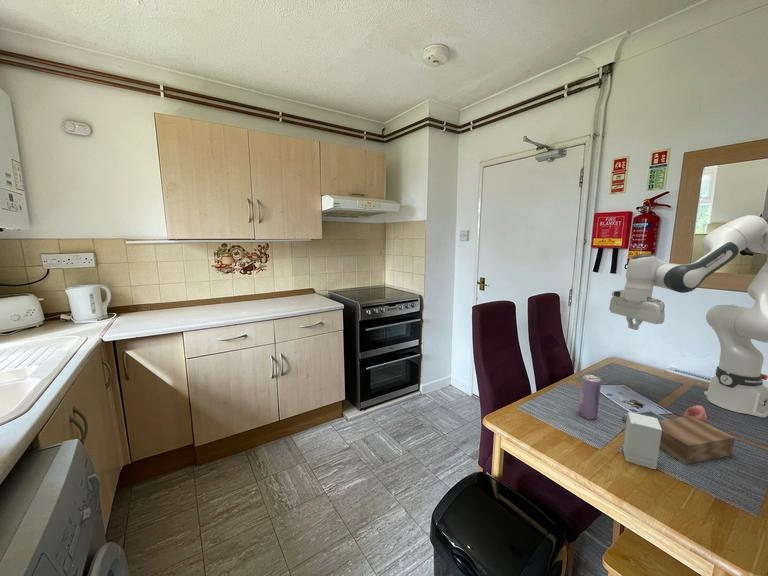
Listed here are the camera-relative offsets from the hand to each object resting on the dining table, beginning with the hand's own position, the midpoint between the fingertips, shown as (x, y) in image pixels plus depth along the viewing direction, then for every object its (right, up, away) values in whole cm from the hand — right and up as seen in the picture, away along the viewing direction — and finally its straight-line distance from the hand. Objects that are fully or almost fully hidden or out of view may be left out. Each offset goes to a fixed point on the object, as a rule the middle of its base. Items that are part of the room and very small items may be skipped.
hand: (633, 328), depth 130 cm
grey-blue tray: (-6, -33, -21) cm, 39 cm away
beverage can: (-24, -31, -9) cm, 41 cm away
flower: (+11, -32, -14) cm, 37 cm away
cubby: (-4, -34, -27) cm, 44 cm away
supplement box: (-23, -35, -32) cm, 53 cm away
